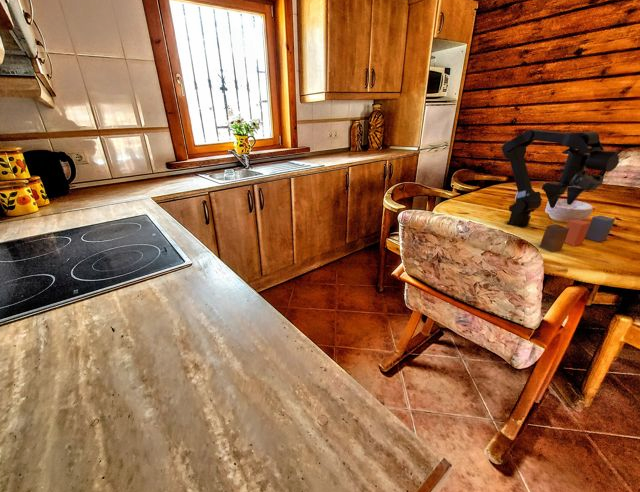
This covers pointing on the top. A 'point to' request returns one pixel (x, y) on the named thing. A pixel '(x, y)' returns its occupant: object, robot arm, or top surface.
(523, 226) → the robot arm
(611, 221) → the slate block
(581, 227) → the terracotta block
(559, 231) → the walnut block
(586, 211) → the paper bowls
